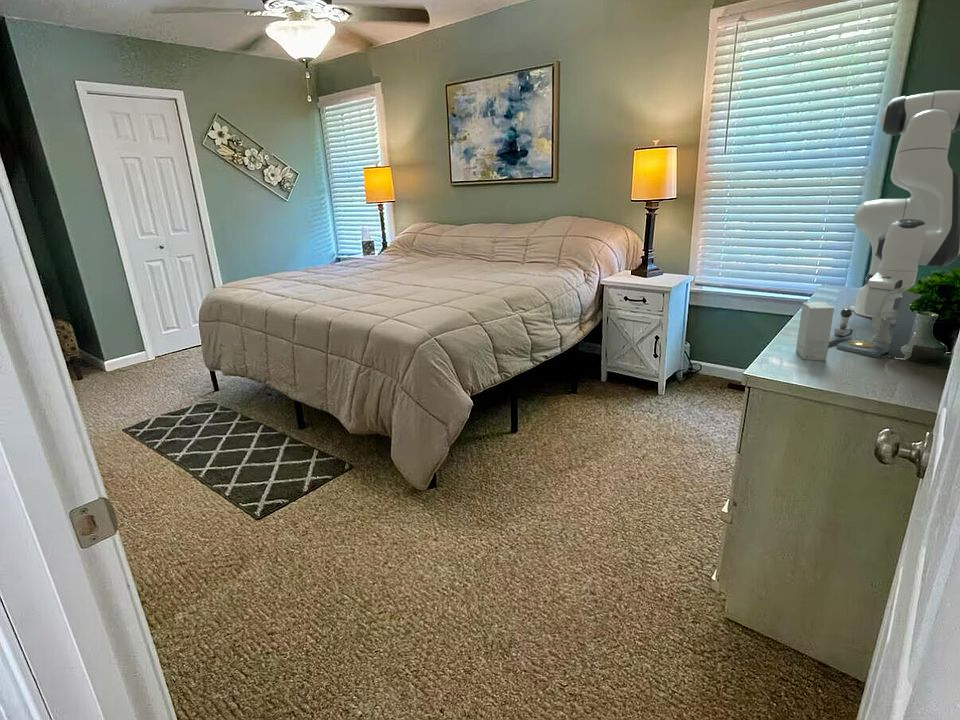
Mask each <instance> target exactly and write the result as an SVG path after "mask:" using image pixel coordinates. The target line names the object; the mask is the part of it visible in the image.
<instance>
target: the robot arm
mask: <svg viewBox="0 0 960 720" xmlns="http://www.w3.org/2000/svg"><path fill="white" fill-rule="evenodd" d="M880 125H881V129H882V132H884V133H885V134H886V135H890V136H894V137H897V136H898V135H901V136H900V139H899V141H898V143H897V148H896V151H895V155H894V159H893V163H892V164H893V165H892V168H891V172H890V181H891V182H892V184H893V185H895V186H896V187H898V188H900V189H903V190H905V191H907V192H909V194H910V197H907V198H879V199H873V200H867V201H866V200H865V201H864V202H862V204H860V205H859V206H858V207H857V209H856V211H855V212H854V218H853V220H854V225H855V227H856V228H857V229H858V230H859V231H860V232H861V233H863V234H864V235H865V237H866V238H867V239H868V241H869V243H870V246H871V253H872V254H871V261H870V266H869V267H870V268H869V272H868V273H867V274H866V277H865V281H864V282H865V284H864V286H862V287H860V288H859V290H858V293H857V297H856V300H855V304H854V305H852V306H850V307H849V309H850V310H851V311H852V312H854V313H855V314H856V315H859V316H863V317H865V318H866V317H867V318H871V322H872V324H871V329H872V330H878V329H880V328H881V326H882V323H881V318H882V317H883V318H884V316H886V318H888V317H890V318H891V320H892V322H891V323H890V325H895V322H896V318H897V314H898V311H897V310H893V306H894V302H895V299H896V298H900V297H901V295H902V293H903V292H905V291H906V290H907V289H909V288H910V287H912V286H914V285H915V284H916V281H917V275H918V272H919V265H920V266H921V265H922V266H926V267H934V268H935V267H936V268H943V267H945V266H947V265H950V264H952V263H953V262H955V261H957V259H958V257H959V255H960V176H959V173H958V171H957V170H954V169H952V168H951V166H950V164H949V160H948V154H949V150H950V144H951V138H952V134H954V133H956V132H957V131H960V90H957V89H955V90H954V89H953V90H952V89H951V90H949V89H947V90H935V91H933V92H925V93H918V94H911V95H909V96H906V95H902V96H899V97H895V98H892V99H891V100H890V101H889V102H887V105H886V106H885V107H884V109H883V111H882V113H881V116H880Z"/></svg>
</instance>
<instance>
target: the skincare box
mask: <svg viewBox="0 0 960 720" xmlns="http://www.w3.org/2000/svg"><path fill="white" fill-rule="evenodd" d="M834 311H835V307H833V306H831V305H830V304H828V302H825V301H816V302H815V301H814V302H813V301H812V302H811V301H810V302H808V301H806V302H805V301H803V302H802V306H801V311H800V319H799V327H798V332H797V333H798V334H797V340H796V347H795V352H796V353H797V354H798V355H799V357H800V358H801V359H803V360H811V361H812V360H813V361H822V362H823V361H827V359H828V351H829V347H828V345H829V339H830V336H831V330H832V325H833V317H834Z"/></svg>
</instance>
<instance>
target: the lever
mask: <svg viewBox="0 0 960 720" xmlns="http://www.w3.org/2000/svg"><path fill="white" fill-rule="evenodd" d="M852 315H853V311H852V310H850V308H844V309H842V310H841V311H840V316H841V320H840V325H839V326H838V327H835V328H834V332H833V335H834V334H837V335H841V336H844V335H847V334H850V332H851V329H852V327H848V325H849V320H850V318H851V317H852Z"/></svg>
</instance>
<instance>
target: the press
mask: <svg viewBox="0 0 960 720" xmlns="http://www.w3.org/2000/svg"><path fill="white" fill-rule="evenodd" d="M921 296H922V295H921V294H915V293H913V292H909V291H907V292H903V294H902V297H900V298H896V299H895V302H894V306H893V310H897V311H898V314H897V318H896V322H895V324H894V327H893V330H892V335H891V338H890V341H889V344H888V345H885V344H880V343H876V342H871V340H866V339H863V338H858V337H854V338H852V337H853V332H854V329H853V328H851V332H850V334H847V335H844V336H841V335H837V334H834V333H833V334H830V339H829V345H828V348H829V347H832V346H834V345H836V349H837V350H842V351H847V352H851V353H855V354H858V355H863V356H868V357H871V356H872V358H875V357H877V358H876V359H882V358H884V357H887V356H890V357H896V358H904V357H905V355H904V354H903V353H902V352H901V350H900V349H901V347H902V346H904V345H906V344H908V343H909V342H910V340H911V338H912V336H913V334H914V332H915V329H916V320H917V319H918V316H917V312H916V311H913V312H914V313H913V312H912V311H911V309H910V307H909V306H910V304H911V303H912V302H913V301H914V300H917V299H919V298H920V297H921ZM886 355H887V356H886ZM883 356H884V357H883ZM881 357H882V358H881ZM890 357H889V358H890Z"/></svg>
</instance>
